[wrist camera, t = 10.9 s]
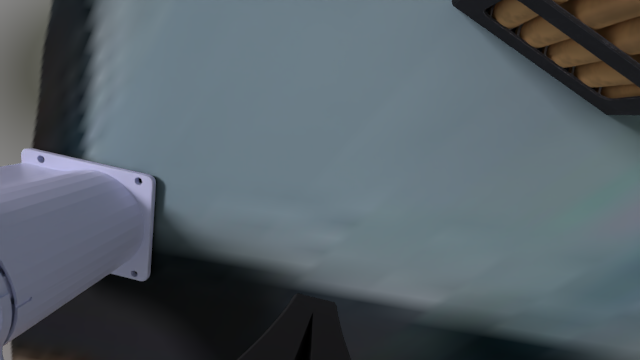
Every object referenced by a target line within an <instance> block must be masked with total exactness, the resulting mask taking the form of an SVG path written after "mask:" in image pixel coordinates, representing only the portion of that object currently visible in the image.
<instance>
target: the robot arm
mask: <svg viewBox="0 0 640 360" xmlns="http://www.w3.org/2000/svg"><path fill="white" fill-rule="evenodd" d="M43 157H44V159H43ZM21 159H22V163H19V164H13V165H7V166H1V167H0V360H4V359H3V355H2V347H3V346H4V345H5V344H7V343H8V342H10V341H11V340H13V339H14V338H16V337H17V336H19V335H20V334H22V333H23V332H24V331H26V330H27V329H29V328H30V327H32V326H33V325H35V324H36V323H38V322H39V321H41V320H42V319H44V318H45V317H47V316H48V315H49V314H51V313H52V312H54V311H55V310H57V309H58V308H60V307H61V306H63V305H64V304H66V303H67V302H69V301H70V300H71V299H73V298H74V297H76V296H77V295H79V294H80V293H82V292H83V291H85V290H86V289H88V288H89V287H91V286H92V285H94V284H95V283H96V282H98V281H99V280H101V279H102V278H104V277H105V276H107V275H108V274H114V275H118V276H122V277H126V278H130V279H134V280H138V281H145V280H147V279H148V278H149V277H150V272H151V255H152V239H153V223H154V206H155V190H156V180H155V178H154V177H153V176H151V175H149V174H145V173H140V172H136V171H131V170H127V169H122V168H118V167H113V166H109V165H105V164H100V163H96V162H91V161H87V160H82V159H78V158H73V157H69V156H65V155H60V154H56V153H51V152H47V151H42V150H38V149H33V148H27V149H24V150H23V151H22V153H21ZM44 160H45V161H44ZM139 178H141V180H142V183H140V182H139ZM135 271H136V272H137V274H136V273H135ZM237 360H351V358H350V355H349V352H348V349H347V346H346V343H345V340H344V337H343V333H342V330H341V326H340V322H339V317H338V312H337V306H336V304H335V303H334V302H331V301H327V300H322V299H318V298H314V297H310V296H306V295H302V294H298V293H297V294H296V295H294V296H293V298H292V299H291V301H290V302H289V304H288V305H287V307H286V308H285V309H284V311H283V312H282V313H281V314H280V316H279V317H278V318H277V319H276V320H275V322H274V323H273V324H272V325H271V326H270V327H269V328H268V329H267V331H266V332H265V333H264V334H263V335H262V336H261V337H260V338H259V339H258V340H257V341H256V342H255V343H254V344H253V345H252V346H251V347H250V348H249V349H248V350H247V351H246V352H244V353H243V354H242V355H241V356H240V357H239V358H238V359H237Z"/></svg>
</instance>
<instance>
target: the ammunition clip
mask: <svg viewBox="0 0 640 360" xmlns="http://www.w3.org/2000/svg"><path fill="white" fill-rule="evenodd" d="M452 4H453V6H455V7H456V8H457V9H459V10H460V11H462V12H463V13H464V14H466V15H467V16H469V17H470V18H471V19H473V20H474V21H476V22H477V23H478V24H480V25H481V26H483V27H484V28H486V29H487V30H488V31H490V32H491V33H493V34H494V35H495V36H497V37H498V38H500V39H501V40H502V41H504V42H505V43H507V44H508V45H509V46H511V47H512V48H514V49H515V50H516V51H518V52H519V53H521V54H522V55H524V56H525V57H526V58H528V59H529V60H531V61H532V62H533V63H535V64H536V65H538V66H539V67H540V68H542V69H543V70H545V71H546V72H547V73H549V74H550V75H552V76H553V77H554V78H556V79H557V80H559V81H560V82H562V83H563V84H564V85H566V86H567V87H569V88H570V89H571V90H573V91H574V92H576V93H577V94H578V95H580V96H581V97H583V98H584V99H585V100H587V101H588V102H590V103H591V104H592V105H594V106H595V107H597V108H598V109H599V110H601V111H602V112H604V113H605V114H607V115H640V0H452Z"/></svg>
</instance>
